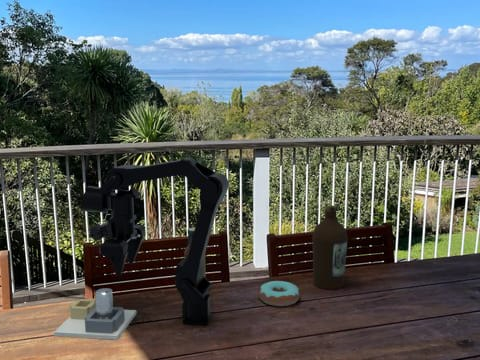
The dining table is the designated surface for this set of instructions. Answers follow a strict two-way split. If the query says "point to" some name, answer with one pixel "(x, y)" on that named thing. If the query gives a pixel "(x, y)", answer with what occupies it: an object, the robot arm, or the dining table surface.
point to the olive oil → (329, 251)
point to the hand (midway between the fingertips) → (125, 269)
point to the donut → (279, 293)
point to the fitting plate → (94, 322)
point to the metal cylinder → (104, 304)
